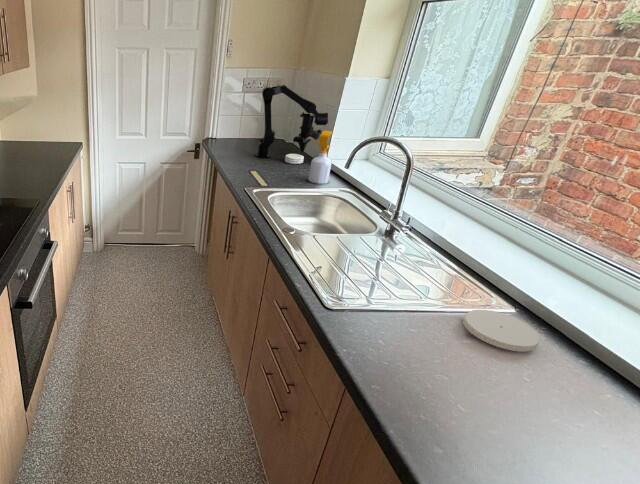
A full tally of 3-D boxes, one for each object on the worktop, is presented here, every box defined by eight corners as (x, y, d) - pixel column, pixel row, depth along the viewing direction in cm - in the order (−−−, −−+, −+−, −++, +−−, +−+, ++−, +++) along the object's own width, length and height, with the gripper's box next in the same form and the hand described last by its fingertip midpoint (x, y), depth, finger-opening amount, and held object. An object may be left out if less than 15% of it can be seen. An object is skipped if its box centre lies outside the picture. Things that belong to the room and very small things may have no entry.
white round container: (305, 164, 233) (306, 158, 232) (287, 164, 234) (288, 158, 232) (299, 159, 242) (300, 153, 241) (282, 159, 243) (283, 153, 241)
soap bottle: (330, 180, 207) (340, 131, 196) (323, 185, 201) (333, 134, 190) (312, 177, 212) (321, 128, 201) (305, 181, 206) (314, 131, 195)
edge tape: (250, 171, 223) (250, 171, 223) (255, 171, 223) (255, 171, 223) (261, 185, 202) (261, 185, 202) (267, 185, 202) (267, 185, 201)
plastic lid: (552, 352, 95) (557, 343, 94) (496, 357, 94) (500, 348, 93) (497, 315, 108) (501, 307, 106) (447, 319, 106) (451, 311, 105)
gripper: (315, 129, 226) (309, 157, 233) (327, 124, 238) (322, 150, 245) (294, 126, 232) (290, 154, 239) (307, 121, 245) (303, 148, 252)
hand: (302, 151), depth 244 cm, fingers closed
